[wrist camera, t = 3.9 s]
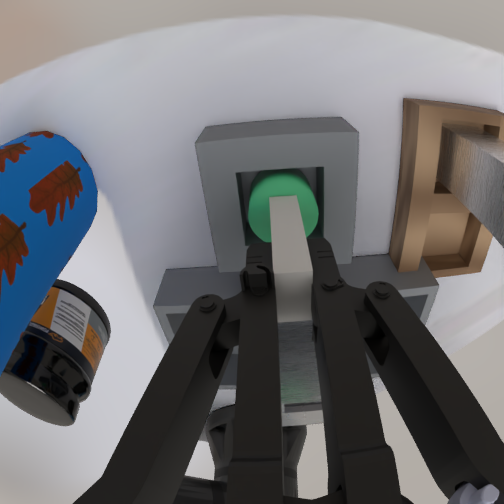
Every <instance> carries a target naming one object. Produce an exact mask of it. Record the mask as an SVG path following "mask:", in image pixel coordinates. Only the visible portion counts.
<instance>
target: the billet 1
mask: <svg viewBox="0 0 504 504" xmlns="http://www.w3.org/2000/svg"><path fill="white" fill-rule="evenodd" d="M312 325H313V320H312V319H311V320H306V321H293V322H278V337H279V357H280V380H281V405H282V426H296V425H308V424H319V423H324V421H323V412H322V402H321V394H320V385H319V377H318V369H317V361H316V353H315V346H314V341H312Z"/></svg>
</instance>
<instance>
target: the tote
mask: <svg viewBox="0 0 504 504" xmlns="http://www.w3.org/2000/svg"><path fill="white" fill-rule="evenodd" d="M337 266H338V270H339V273H340V276H341V278H343V279H344V280H345V282H346V284H348V285H350V286H352V287H356V288H362V289H366V287H367V286H368V285H369V284H370V283H372V282H376V281H383V282H387V283H390V284H392V285H393V286H394V287H395V288H396V289H397V290H398V292H399V293H400V294H401V295H402V297H403V298H404V299H405V301H406V302H407V303H408V304H409V306H410V307H411V308H412V310H413V311H414V312H415V313H416V315H417V316H418V317H419V319H420V320H421V321H422V323H423V324H424V325H425V324H426V322H427V319H428V316H429V314H430V311H431V308H432V305H433V303H434V300H435V297H436V294H437V291H438V288H439V284H438V282H437V280H436V279H435V277H434V275H433V274H432V272H431V270H430V269H429V267H428V265H427V264H426V262H425V260H424V259H423V257H422V255H421V259H420V263H419V267H418V271H409V272H399V273H398V272H397V270H396V268H395V266H394V264H393V262H392V260H391V258H390V256H389V254H384V255H371V256H358V257H352V262H351V263H349V264H337ZM240 272H241V271H236V272H220V273H219V269H218V266H215V267H200V268H183V269H167V270H166V271H165V273H164V276H163V279H162V282H161V285H160V288H159V290H158V293H157V296H156V299H155V302H154V305H153V308H154V310H155V313H156V315H157V317H158V320H159V322H160V324H161V327H162V329H163V331H164V334H165V336H166V338H167V341H168V343H169V345H170V343H171V341H172V340H173V338H174V336H175V334H176V332H177V330H178V328H179V327H180V325H181V323H182V321H183V319H184V317H185V316H186V314H187V312H188V310H189V308H190V306H191V305H192V303H193V302H194V301H195V299H197V298H198V297H200V296H203V295H206V294H215V295H218V296H220V297H221V298H222V299H223V300H224V299H228V298H231V297H233V296H235V295H237V294H239V293H240V292H241V291H242V288H241V282H240V276H239V275H240ZM238 348H239V345H238V346H235V347H234V348H233V352H232V354H231V357H230V360H229V362H228V365H227V367H226V370H225V373H224V375H223V378H222V380H221V383H220V386H219V388H218V389H236V382H237V365H238ZM365 353H366V351H365ZM366 357H367V361H368V365H369V369H370V373H371V377H372V378H376V377H380V376H379V374H378V373H377V371H376V369H375V367H374V366H373V364H372V362H371V360H370V358H369V357H368V355H367V353H366Z"/></svg>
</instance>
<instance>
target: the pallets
mask: <svg viewBox="0 0 504 504" xmlns="http://www.w3.org/2000/svg"><path fill="white" fill-rule="evenodd" d="M442 123H448V124H458V125H467V126H475V127H479V128H481V129H483V130H484V131H486V132H488V133H490V134H492V135H494V136H495V137H497V138H499V139H501V140H503V141H504V113H502V112H500V111H496V110H491V109H486V108H480V107H474V106H468V105H461V104H454V103H447V102H439V101H430V100H419V99H408V98H404V101H403V130H402V147H401V161H400V172H399V182H398V192H397V200H396V208H395V216H394V223H393V230H392V237H391V243H390V249H389V256H390V258H391V260H392V262H393V264H394V266H395V268H396V270H397V272H398V273H399V272H409V271H418V267H419V263H420V259H421V255H422V257H423V259H424V260H425V262H426V264H427V265H428V267H429V269H430V270H431V272H432V274H433V275H434V277H435V278H438V277H446V276H455V275H462V274H470V273H478V272H481V269H482V267H483V264H484V261H485V258H486V255H487V252H488V249H489V246H490V243H491V240H492V237H493V235H492V234H491V233H490V232H489V231H488V229H487V228H486V227H485V226H484V225H483V224H482V223H481V222H480V221H479V220H478V219H477V218H476V217H475V216H474V215H473V214H472V213H471V211H470V210H469V209H468V208H467V207H466V206H465V205H464V204H463V203H462V202H461V201H460V200H459V199H458V198H456V197H455V196H454V195H453V194H452V193H451V192H450V191H449V190H448V189H447V188H446V187H445V186H444V185H443V184H442V183H441V182H440V181H438V180H437V179H436V175H437V167H438V159H439V150H440V140H441V129H442Z"/></svg>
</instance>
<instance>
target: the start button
mask: <svg viewBox="0 0 504 504" xmlns="http://www.w3.org/2000/svg"><path fill="white" fill-rule="evenodd" d="M293 195H297V199H298V204H299V208H300V213H301V217H302V222H303V226H304V231H305V235H306V237H308V236H309V235H310V234H311V233H312V231H313V230H314V228H315V227H316V224H317V221H318V215H319V213H318V207H317V203H316V201H315V198H314V195H313V192H312V189H311V186H310V183H309V181H308V179H307V178H306V176H305V175H304V174H303V173H302V172H300V171H299V170H297V169H296V168H288V169H273V170H263V171H261V172H260V173H259V174H258V175H257V176H256V177H255V178H254V180H253V182H252V184H251V187H250V195H249V211H248V219H249V224H250V227H251V228H252V230H253V232H254V233H255V234H256V235H257V236H258V237H259V238H260V239H262V240H263V241H265V242H272V239H271V220H270V203H269V197H279V196H293Z"/></svg>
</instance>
